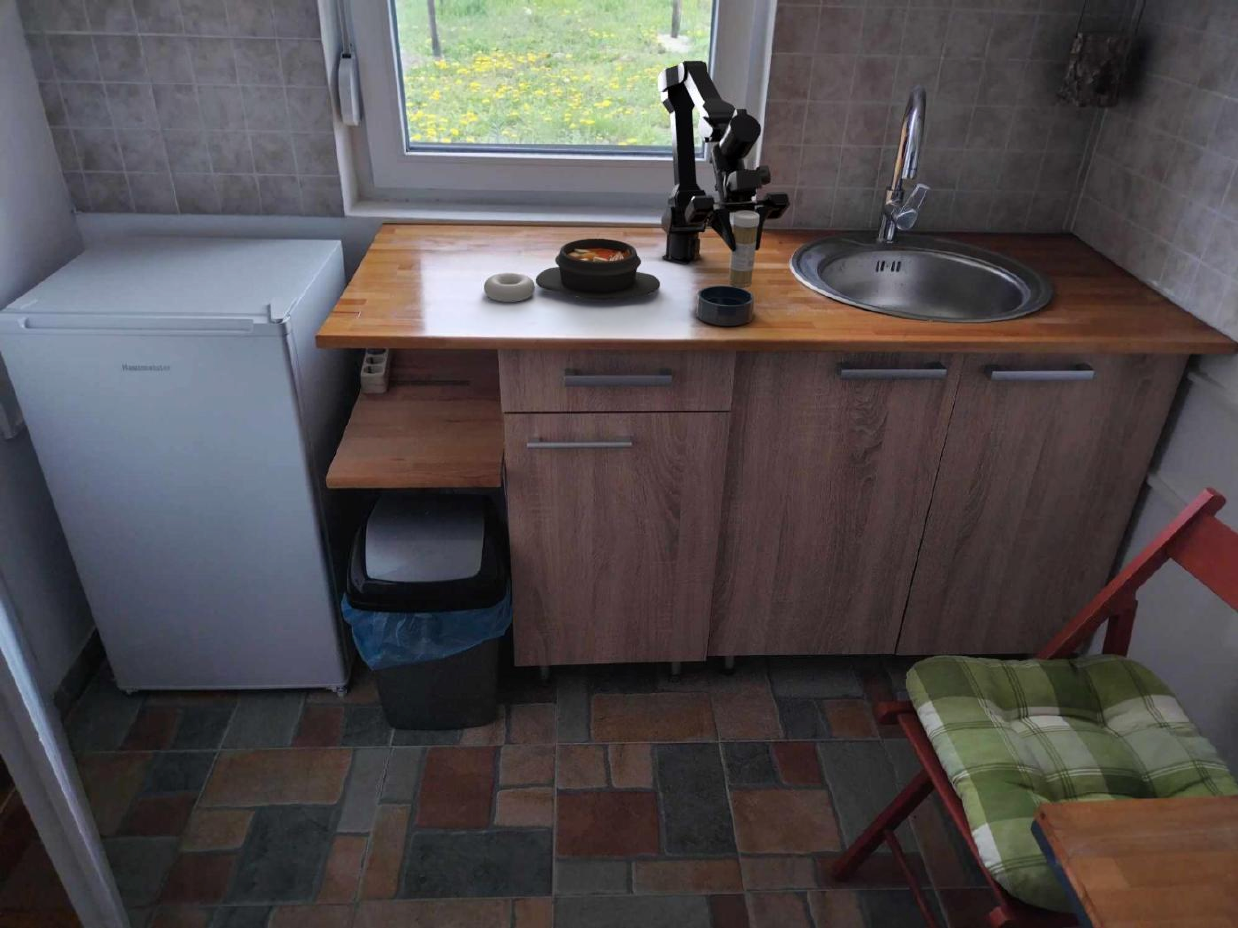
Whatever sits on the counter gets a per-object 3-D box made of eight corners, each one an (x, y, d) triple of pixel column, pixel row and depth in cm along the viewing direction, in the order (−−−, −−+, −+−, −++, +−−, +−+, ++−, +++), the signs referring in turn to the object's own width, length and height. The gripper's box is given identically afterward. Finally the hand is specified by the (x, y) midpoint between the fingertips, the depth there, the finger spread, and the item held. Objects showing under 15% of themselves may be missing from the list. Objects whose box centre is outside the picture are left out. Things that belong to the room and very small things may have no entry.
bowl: (686, 319, 173) (688, 298, 171) (710, 302, 181) (712, 281, 178) (738, 331, 168) (740, 310, 166) (760, 313, 176) (763, 292, 174)
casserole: (664, 279, 191) (666, 239, 187) (654, 312, 175) (656, 270, 171) (546, 270, 194) (545, 231, 189) (526, 302, 178) (525, 260, 174)
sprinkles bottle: (740, 278, 175) (747, 208, 167) (756, 285, 172) (765, 214, 164) (722, 283, 172) (729, 212, 165) (739, 290, 169) (746, 218, 162)
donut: (522, 308, 176) (543, 290, 184) (521, 291, 174) (542, 273, 182) (475, 301, 178) (497, 283, 186) (474, 284, 177) (496, 266, 185)
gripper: (694, 150, 160) (710, 232, 157) (793, 147, 165) (810, 226, 161) (677, 183, 171) (692, 261, 168) (770, 179, 175) (787, 254, 172)
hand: (746, 250), depth 167 cm, fingers closed on sprinkles bottle, 4 cm apart
